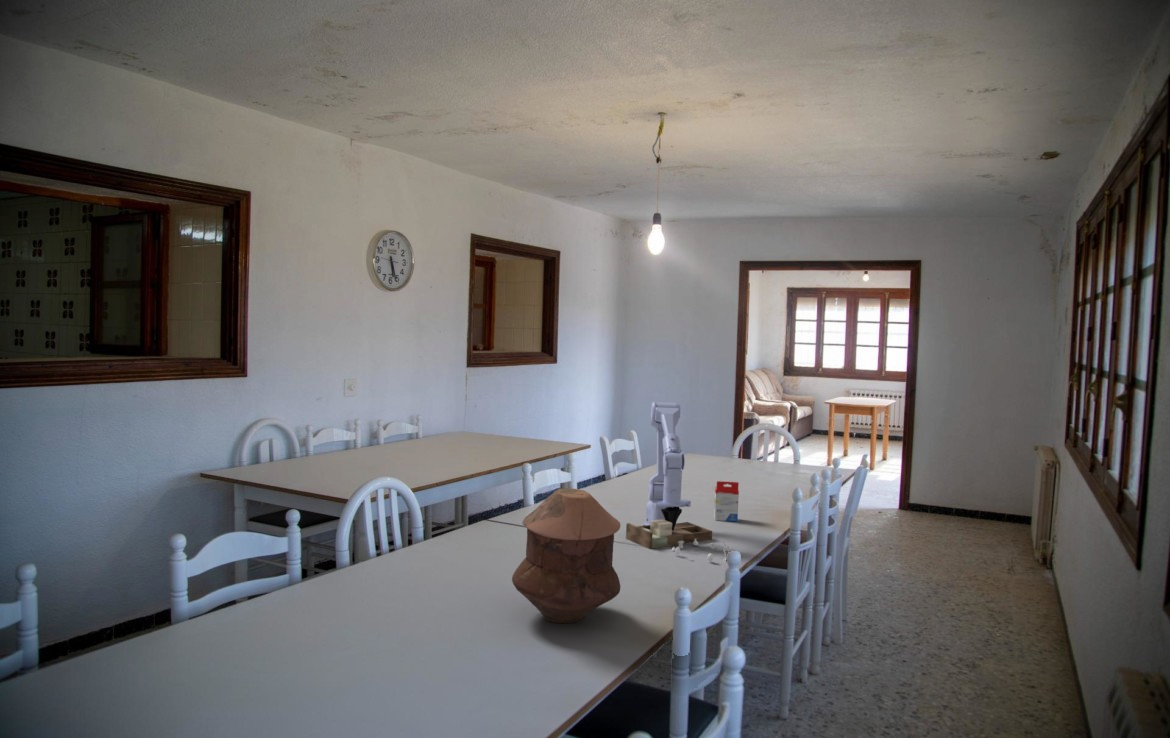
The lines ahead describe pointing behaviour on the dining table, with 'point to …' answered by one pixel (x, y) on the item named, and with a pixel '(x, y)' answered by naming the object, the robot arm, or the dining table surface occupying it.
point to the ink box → (726, 501)
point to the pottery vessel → (568, 556)
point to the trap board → (680, 533)
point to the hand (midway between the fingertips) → (670, 529)
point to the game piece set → (695, 542)
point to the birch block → (661, 528)
